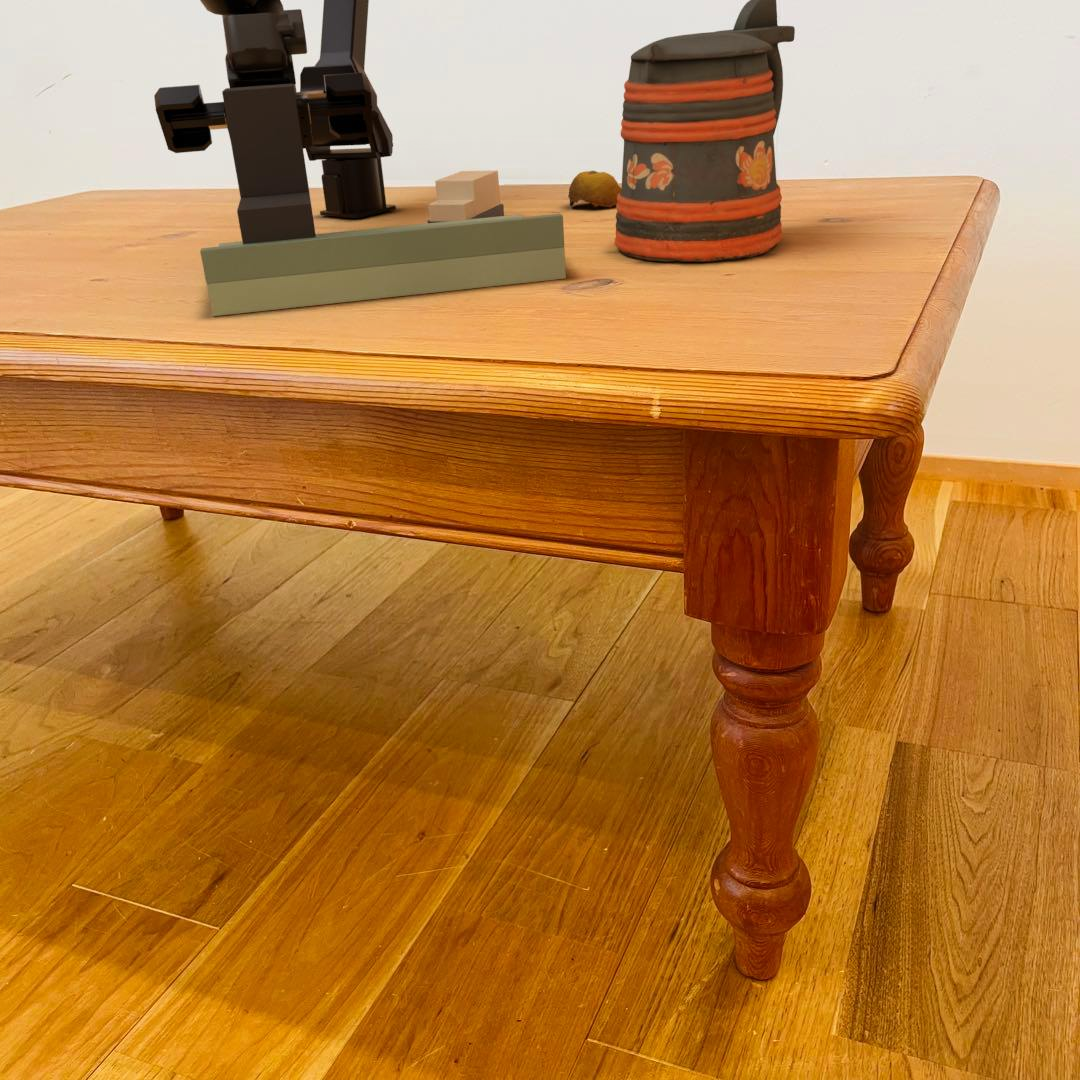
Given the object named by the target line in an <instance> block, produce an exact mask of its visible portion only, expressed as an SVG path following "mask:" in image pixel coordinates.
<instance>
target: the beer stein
mask: <svg viewBox="0 0 1080 1080" xmlns="http://www.w3.org/2000/svg"><path fill="white" fill-rule="evenodd" d="M777 7H778V6H777V0H749V1H747V2H745V4H744V5H743V7H742V9H741V10H740V12H739V14H738V16H737V18H736V19H735V23H734V26H733V28H732V29H725V30H717V31H710V32H709V31H707V32H698V33H689V34H680V35H675V36H669V37H664V38H661V39H658V40H655V41H653V42H650V43H649V44H647V45H645V46H643V47H641V48H639V49H637V50H636V51H635V52H633V53H632V54H631V55H630V66H629V72H628V78H627V80H626V81H625V82H624V85H623V88H624V93H623V99H624V100H623V103H622V120H621V121H620V126H621V129H620V137H621V138H622V140H623V152H622V153H623V154H622V170H621V171H622V172H621V192H620V193H619V194H618V195H617V201H618V202H617V205H615V207H616V213H615V219H616V221H615V238H614V246H615V247H616V248H617V249H618V250H619V251H620V252H621V253H622V254H624V255H625V256H628V257H630V258H634V259H639V260H645V261H654V262H667V263H668V262H683V263H685V262H686V263H687V262H689V263H690V262H693V263H695V262H696V263H697V262H700V263H705V262H717V261H723V260H724V261H725V260H740V259H742V258H751V257H755V256H758V255H763V254H765V253H768V252H770V250H771V249H772V248H774V247H775V246H777V245H778V244H779V243H780V242H781V240H782V238H783V230H782V226H783V225H782V224H783V223H782V221H781V219H782V205H781V203H782V198H783V196H782V193H781V186H780V185H779V184H778V182H777V169H776V155H775V154H776V153H775V141H774V135H775V132H776V129H777V125H778V121H779V118H780V114H781V107H782V102H783V93H784V91H783V90H784V71H783V65H782V64H783V63H782V59H781V53H780V49H779V44H780V43H791V42H794V40H795V34H796V28H795V26H793V25H778V10H777Z"/></svg>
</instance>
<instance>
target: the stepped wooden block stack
mask: <svg viewBox="0 0 1080 1080" xmlns="http://www.w3.org/2000/svg"><path fill="white" fill-rule="evenodd" d="M434 182H435V193H436V200H435V201H433V202H430V203H427V208H428V218H429V219H428V220H427V221H426V223H437V222H447V221H457V220H468V219H478V218H488V217H499V216H505V207H504V203H501V197H500V183H499V182H500V181H499V171H498V170H461V171H458V172H455V173H453V174H450V175H447V176H445V177H442V178H440V179H436V180H435V181H434Z"/></svg>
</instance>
